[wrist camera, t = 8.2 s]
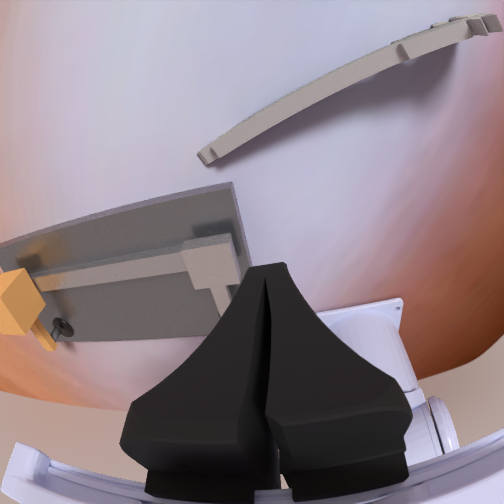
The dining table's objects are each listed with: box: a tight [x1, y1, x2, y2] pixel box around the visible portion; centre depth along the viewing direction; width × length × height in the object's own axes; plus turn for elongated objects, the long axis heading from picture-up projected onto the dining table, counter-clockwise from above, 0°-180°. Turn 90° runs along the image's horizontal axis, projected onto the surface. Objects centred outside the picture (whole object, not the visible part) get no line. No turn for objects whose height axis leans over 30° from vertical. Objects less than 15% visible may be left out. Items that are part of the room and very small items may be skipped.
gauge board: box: [0, 182, 253, 341], centre depth 22 cm, size 12×24×3 cm, turn 101°
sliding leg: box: [0, 268, 61, 351], centre depth 22 cm, size 8×4×5 cm, turn 11°
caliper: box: [197, 13, 503, 165], centre depth 13 cm, size 20×1×6 cm, turn 124°
